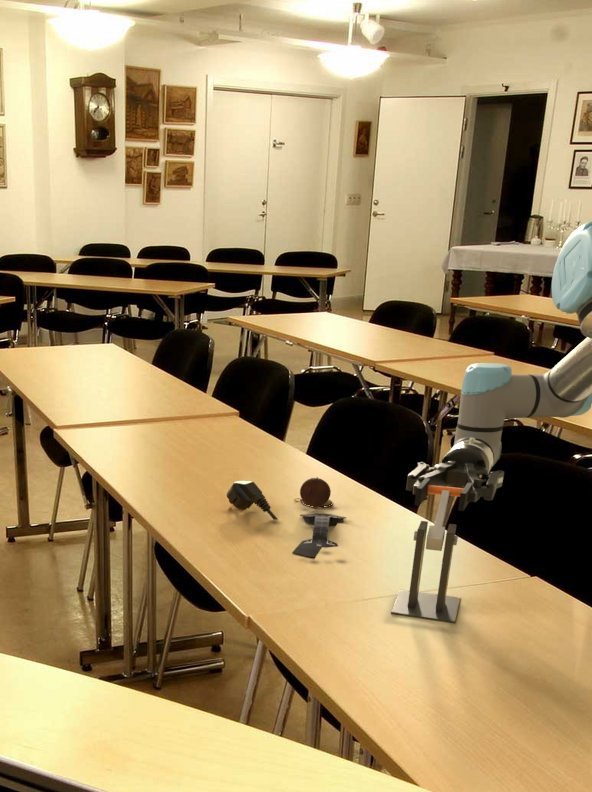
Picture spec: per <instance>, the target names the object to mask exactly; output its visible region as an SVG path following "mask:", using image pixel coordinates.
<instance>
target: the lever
mask: <svg viewBox="0 0 592 792" xmlns="http://www.w3.org/2000/svg"><path fill="white" fill-rule="evenodd" d="M463 489H464V488H454V487H447V486H446V487H443V486H432V485H428V488H427V494H428V495H437V496H438V495H439V496H440V499H439V503H438V506H437V511H436V516H435V520H434V525H428V526H429V527H428V530H427V534H426V541H425V550H428V551H429V550H430V551H438V552H442V550H443V545H444V543H445V536H446V527H445V526H444V521H445V518H446V517H445V516H446V512H447V508H448V504H449V499H450V497H459V498H460V494H461V492H462V490H463Z"/></svg>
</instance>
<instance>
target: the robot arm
mask: <svg viewBox="0 0 592 792" xmlns="http://www.w3.org/2000/svg"><path fill="white" fill-rule="evenodd" d="M551 277H552V278H551V297H552V301H553V305H554V306H555V308H556V309H557V310H560V312H561V313H566V314H567V315H570V314H571V315H572V314H576V315H577V319H578V324H579V329H580V332H581V334H582V335H583V336H584V337H586V338H585V339H583V340H582V341H581V342H580V343H579V344H578V345H577V346H576V347H574V349H572V350H571V351H570V352H569V353H568V354H567V355H566V356H564V357H563V358H562V359H561V360H560V361H559V362H557V364H555V365H554V367H552V368H551V369H550V370H548V371H547V372H545V373H538V374H537V373H535V374H531V373H530V374H528V373H527V374H513V373H512V372H513V369H512V367H511V366H510V365H508V364H505V363H496V362H495V363H494V362H493V363H492V362H491V363H490V362H479V363H472V364H470V365H469V366H467V368H466V369H465V371H464V376H463V380H462V385H461V388H460V399H459V400H460V401H459V411H458V419H457V423H456V424H457V425H456V427H455V435H454V442H453V446H452V447H451V448H450V449H449V450H448V451H447V453H445V455H444V456H443V457H442V459H441V461H440V462H439V463H437V464H435V465H434V466H432V467H431V466H430V465H429V464H426V463H425V462H424V461H420V462H417V466H416V467H415V468H414V469H413V470H412V471H411V472H409V473H408V474H407V480H406V488H405V490H406V491H409V492H412V494H413V495H415V496H414V505H413V506H421V505H422V503H423V502H424V501H425V500H426V498H427V497H428V496H429V494H427V488H428V485H432V486H443V487H454V488H464V489H463V490H462V492H461V494H460V497H459V501H458V508H457V511H459V512H465V510H466V508H467V506H468V505H469V503H476V502H477V501H478V500H480V498H483V499H484V500H485V501H492V500H494V497H495V494H496V492H497V489H499V488H501V487H502V486H503V482H504V481H503V480H504V477H505V471H504V470H500V469H499V470H495V471H492V468H493V467H494V466H496V464H497V463H498V460H500V458H501V453H502V447H503V446H502V441H501V440H502V434H503V429H504V424H505V420H506V419H531V418H533V419H534V418H560V419H561V418H569V417H576V416H583V415H584V414H586V413H587V412H589V411H590V410H591V408H592V221H589V222H588V221H587V222H585V223H584V224H582V225H580V226H579V227H578V228H576V229H575V230H574V231H573V232H572V233H571V234H570V235H569V237H568V238H567V239H566V241H565V242H564V244H563V246H562V247H561V249H560V252H559V254H558V256H557V259H556V262H555V265H554V268H553V273H552V276H551ZM485 482H486V485H482V484H483V483H485Z"/></svg>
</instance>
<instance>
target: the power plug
mask: <svg viewBox="0 0 592 792" xmlns="http://www.w3.org/2000/svg"><path fill="white" fill-rule="evenodd" d="M226 497H227V499H228V502H229V505H228V506H227V510H231V509H233V507H234V508H235V509H238V510H243V511H246V510H249V509H250V508H251V507H252V506H253V504H254V505H256V506H257V507H258V508H259V509H260V510H262V512H264V513H266V512H267V513H268V515H270V517H271V518H272V520H278V517H277V516H276V515H275V514H274V513H273V512H272V510H271V508H272V507H271V505H270V503H269V502H268V500H267V498H266V497H265V495H264V494H263V491H262V490H261V489H260V488H259V486H258V485H257V484H256V482H254V481H252V480H251V481H250V480H249V481H248V480H237V481H235V482H234V483H232V485H231V486H230V488H229V489H228V491H227V492H226Z"/></svg>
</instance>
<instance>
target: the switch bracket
mask: <svg viewBox="0 0 592 792" xmlns="http://www.w3.org/2000/svg"><path fill="white" fill-rule="evenodd" d="M428 524H429V521H426V520H421V521H420V522H419V525H418V527H417V530H415V531H414V533H413V541H415V545H414V554H413V562H412V569H411V577H410V585H409V590H408V589H399V591H398V594H397V596H396V599H395V601H394V604H393V607H392V609H391V612H390V615H395V616H400V617H407V618H408V617H409V618H414V619H421V620H428V621H435V622H440V623H441V622H442V623H448V624H456V619H457V617H458V616H457V615H458V611H459V606H460V602H461V599H462V598H461V597H458V596H450V595H447V592H448V586H449V578H450V572H451V567H452V565H451V564H452V558H453V551H454V546H457V545H458V541H459V540H458V539H459V536H458V535H456V531H457V524H454V523H449V524H448V527H447V530H446V532H445V539H444V548H443V554H442V560H441V561H442V562H441V563H442V564H441V567H440V568H441V569H440V575H439V583H438V590H437V594H436V593H431V592H424V591H423V592H422V591H420V585H421V577H422V571H423V562H424V557H425V556H424V555H425V549H426V542H427V534H428V526H429V525H428Z"/></svg>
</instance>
